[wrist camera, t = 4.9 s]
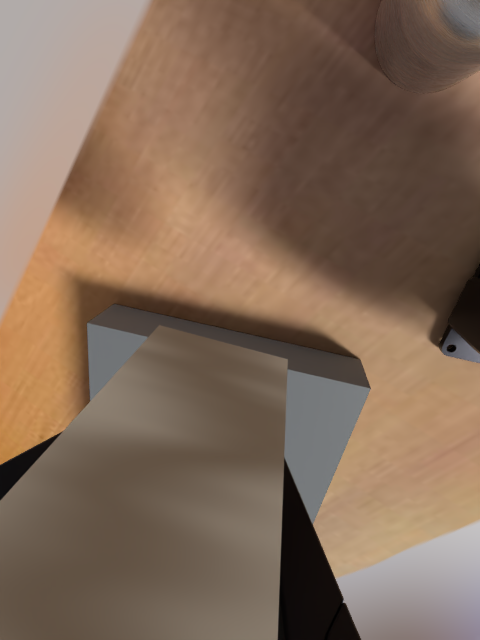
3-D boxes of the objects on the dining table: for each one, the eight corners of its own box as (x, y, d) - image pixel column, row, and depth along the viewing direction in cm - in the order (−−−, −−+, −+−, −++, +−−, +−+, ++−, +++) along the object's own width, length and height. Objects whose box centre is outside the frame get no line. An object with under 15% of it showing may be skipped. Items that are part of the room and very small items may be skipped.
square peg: (287, 359, 10) (266, 927, 2) (256, 453, 11) (189, 948, 4) (159, 325, 10) (-225, 748, 3) (148, 423, 11) (-101, 842, 4)
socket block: (360, 359, 20) (370, 388, 17) (303, 505, 26) (304, 544, 23) (114, 303, 21) (86, 322, 18) (113, 456, 27) (93, 487, 24)
